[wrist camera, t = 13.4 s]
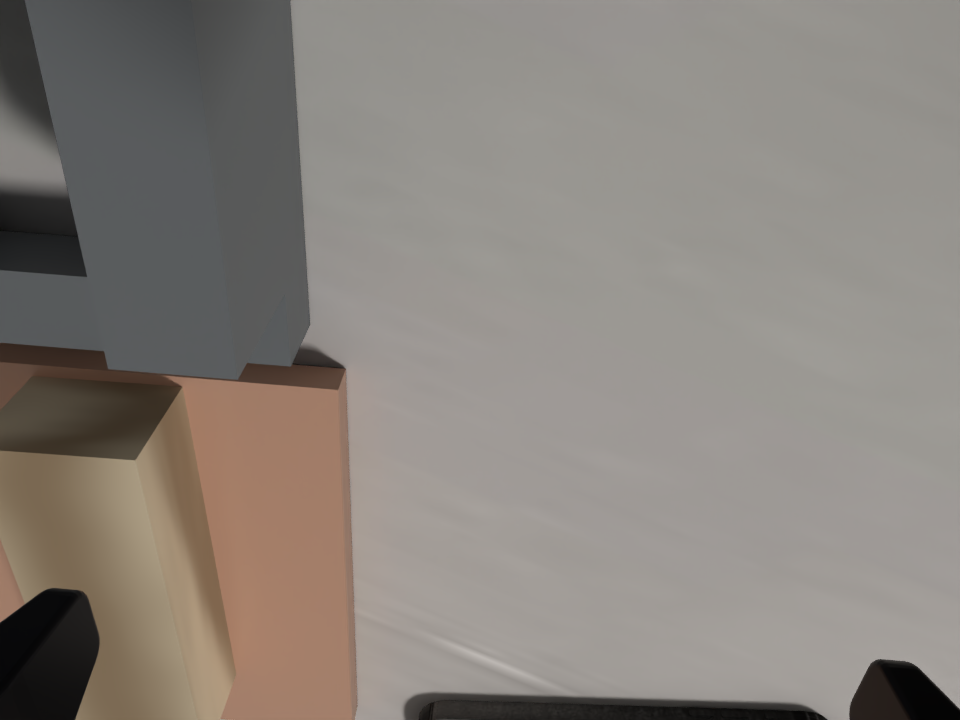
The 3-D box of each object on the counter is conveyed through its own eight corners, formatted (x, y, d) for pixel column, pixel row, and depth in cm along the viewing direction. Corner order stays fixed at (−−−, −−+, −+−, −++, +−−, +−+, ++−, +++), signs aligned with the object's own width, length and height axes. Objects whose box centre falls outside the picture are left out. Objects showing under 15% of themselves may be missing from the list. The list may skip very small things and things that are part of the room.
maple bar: (182, 386, 21) (135, 460, 19) (236, 673, 28) (206, 757, 25) (32, 375, 21) (-35, 447, 19) (120, 665, 28) (80, 747, 25)
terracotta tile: (345, 368, 22) (338, 390, 21) (357, 705, 30) (352, 730, 29) (-93, 332, 22) (-118, 352, 21) (36, 677, 30) (22, 701, 29)
